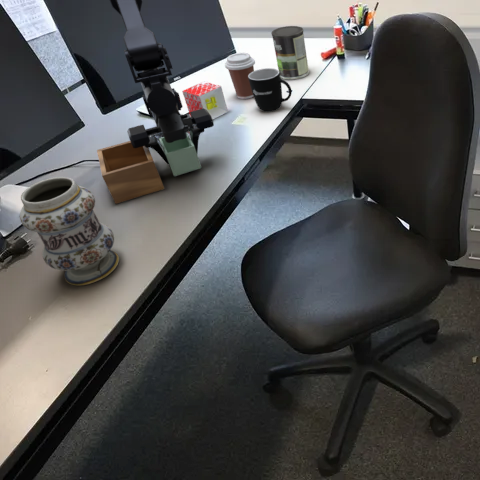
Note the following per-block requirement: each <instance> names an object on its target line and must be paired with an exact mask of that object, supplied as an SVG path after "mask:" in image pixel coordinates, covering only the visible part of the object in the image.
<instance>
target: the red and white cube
mask: <svg viewBox="0 0 480 480" xmlns="http://www.w3.org/2000/svg"><path fill="white" fill-rule="evenodd" d="M182 95H183V98H184V102H185V104H186V108H187V110H188V114H189V115H190V117H191V114H190V112H192V111H196V110H199V109H203V108H204V109H206V110H207V111H208V112H209V114H210V115H211V117H212V120H213V121H214V120H215V119H217V118H219V117H221V116H223V115H225V114H226V113H228V112H229V109H228V106H227V102H226V98H225V95H224V91H223V87H222V85H219V84H215V83H211V82H208V81H201V82H200V83H197V84H195V85H193V86H190V87H188V88H186V89H183V90H182Z"/></svg>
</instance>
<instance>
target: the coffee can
mask: <svg viewBox="0 0 480 480" xmlns="http://www.w3.org/2000/svg"><path fill="white" fill-rule="evenodd" d="M270 33H271V36H272V42H273V48H274V53H275V58H276V63H277V70H278V71H279V73H280V78H281V79H282V80H298V79H302V78H305V77H306V76H308V75H309V74H310V71H309V63H308V57H307V50H306V41H305V35H304V27H302V26H297V25H286V26H280V27H278V28H275V29H273V30H272V31H271V32H270Z"/></svg>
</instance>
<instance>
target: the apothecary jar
mask: <svg viewBox="0 0 480 480" xmlns="http://www.w3.org/2000/svg"><path fill="white" fill-rule="evenodd" d="M20 200H21V203H22V205H23V206H22V207H21V209H20V211H19V221H20V222H21V225H22V226H23V227H25V228H26V229H27V230H29V231H31V232H33V233H37V234H38V236H39V238H40V240H41V242H42V243H43V248H42V252H41V255H42V259H43V261H44V263H45V264H46V265H47V266H49V267H50V268H52V269H54V270H57V271H64V281H65V282H66V283H68V284H69V285H71V286H88V285H91V284H94V283H97V282H100V281H101V280H103V279H105V278H106V277H108V276H109V275H110V274H112V272H114V271H115V270H116V268H117V267H118V265H119V262H120V257H119V254H118V253H116V252H115V251H113V250H112V248H113V246H114V243H115V234H114V232H113V230H112V229H111V228H110V227H109V225H106V224H105V223H102V222H100V220H99V218H98V217H97V215H96V213H95V211H94V208H95V206H96V197H95V195H94V194H93V192H92V191H91V190H90V189H88V188H87V187H85V186H81V185H78V183H77V182H76V181H75V180H74V179H73V178H70V177H67V176H57V177H56V176H55V177H50V178H45V179H43V180H40V181H38V182H35V183H34V184H32V185H29V187H26V189H25V190H24V191H23V192H22V193H21V195H20Z"/></svg>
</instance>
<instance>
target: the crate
mask: <svg viewBox="0 0 480 480" xmlns="http://www.w3.org/2000/svg"><path fill="white" fill-rule="evenodd" d="M96 153H97V158H98V162H99V168H100V173H101V177H102V179H103V181H104V183H105V185H106V187H107V189H108V191H109V193H110V195H111V198H112V200H113V202H114V203H115V205H117V204H120V203H123V202H126V201H130V200H133V199H136V198H139V197H142V196H143V197H144V196H146V195H149V194H153V193H155V192H158V191H162V190H165V186H164V184H163V183H164V182H163V181H162V179H161V176H160V173H159V171H158V168H157V165H156V163H155V161H154V158H153V155H152V153H151V151H150V147H149V148H146V147H145V146H142V147H139V148H133V146H132V144H131V141H130V140H128V141H125V142H120V143H117V144H114V145H110V146H107V147H106V146H105V147H102V148H99V149H97V150H96Z"/></svg>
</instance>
